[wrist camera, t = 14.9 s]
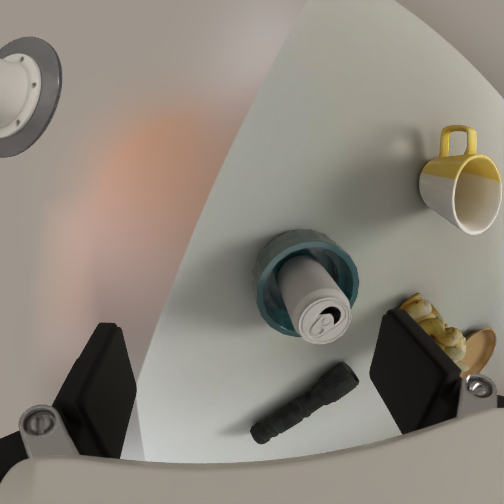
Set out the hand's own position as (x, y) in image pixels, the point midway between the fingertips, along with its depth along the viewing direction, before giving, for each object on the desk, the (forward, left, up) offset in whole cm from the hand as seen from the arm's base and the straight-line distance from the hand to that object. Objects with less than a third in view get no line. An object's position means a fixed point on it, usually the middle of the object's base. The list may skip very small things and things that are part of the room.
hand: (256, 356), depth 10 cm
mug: (+30, +5, -31) cm, 43 cm away
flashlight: (+11, -34, -31) cm, 47 cm away
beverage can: (+9, -10, -30) cm, 32 cm away
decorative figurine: (+29, -19, -31) cm, 46 cm away
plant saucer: (+49, -31, -31) cm, 65 cm away
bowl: (+9, -10, -30) cm, 33 cm away
